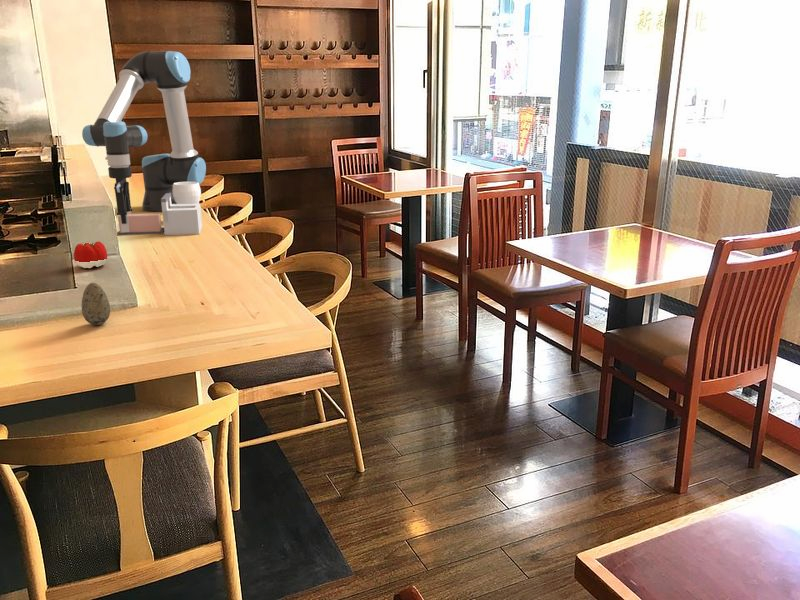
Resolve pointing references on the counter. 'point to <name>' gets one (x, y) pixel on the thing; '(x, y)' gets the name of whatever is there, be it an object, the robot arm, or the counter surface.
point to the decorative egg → (95, 305)
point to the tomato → (90, 252)
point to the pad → (142, 232)
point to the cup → (186, 192)
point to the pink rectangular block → (143, 223)
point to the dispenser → (180, 217)
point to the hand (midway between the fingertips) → (127, 230)
